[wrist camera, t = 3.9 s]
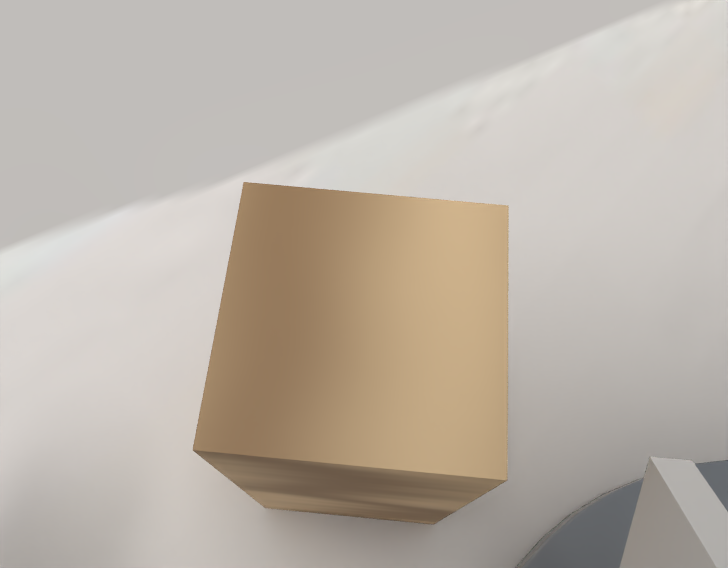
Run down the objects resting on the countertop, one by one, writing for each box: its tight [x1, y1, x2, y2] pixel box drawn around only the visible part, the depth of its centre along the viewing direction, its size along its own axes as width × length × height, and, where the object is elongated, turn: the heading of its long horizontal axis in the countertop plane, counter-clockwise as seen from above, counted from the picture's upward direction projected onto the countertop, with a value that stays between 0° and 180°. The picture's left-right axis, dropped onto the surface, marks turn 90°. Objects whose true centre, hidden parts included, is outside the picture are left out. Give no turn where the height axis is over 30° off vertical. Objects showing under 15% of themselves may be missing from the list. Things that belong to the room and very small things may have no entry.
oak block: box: [193, 182, 508, 524], centre depth 16 cm, size 5×5×10 cm
